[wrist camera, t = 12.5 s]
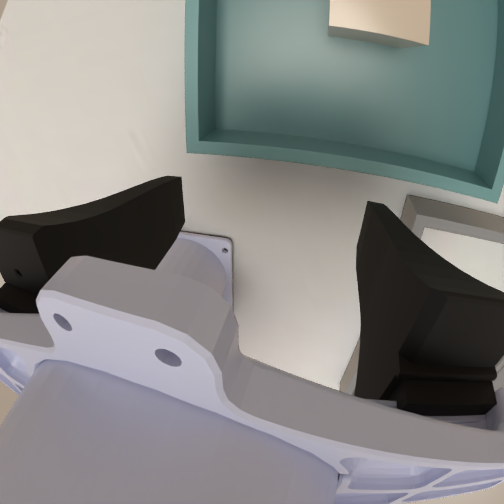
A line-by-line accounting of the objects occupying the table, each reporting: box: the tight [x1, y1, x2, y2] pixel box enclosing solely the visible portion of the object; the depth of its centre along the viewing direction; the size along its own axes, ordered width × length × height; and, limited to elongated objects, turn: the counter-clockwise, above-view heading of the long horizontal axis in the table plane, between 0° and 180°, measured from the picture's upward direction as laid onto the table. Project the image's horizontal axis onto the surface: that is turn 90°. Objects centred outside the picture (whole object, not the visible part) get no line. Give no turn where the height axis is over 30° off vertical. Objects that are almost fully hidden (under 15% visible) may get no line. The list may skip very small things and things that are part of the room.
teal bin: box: [185, 0, 504, 203], centre depth 13 cm, size 20×20×4 cm
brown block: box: [328, 0, 431, 48], centre depth 11 cm, size 4×4×6 cm
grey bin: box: [339, 195, 504, 396], centre depth 25 cm, size 24×17×3 cm
